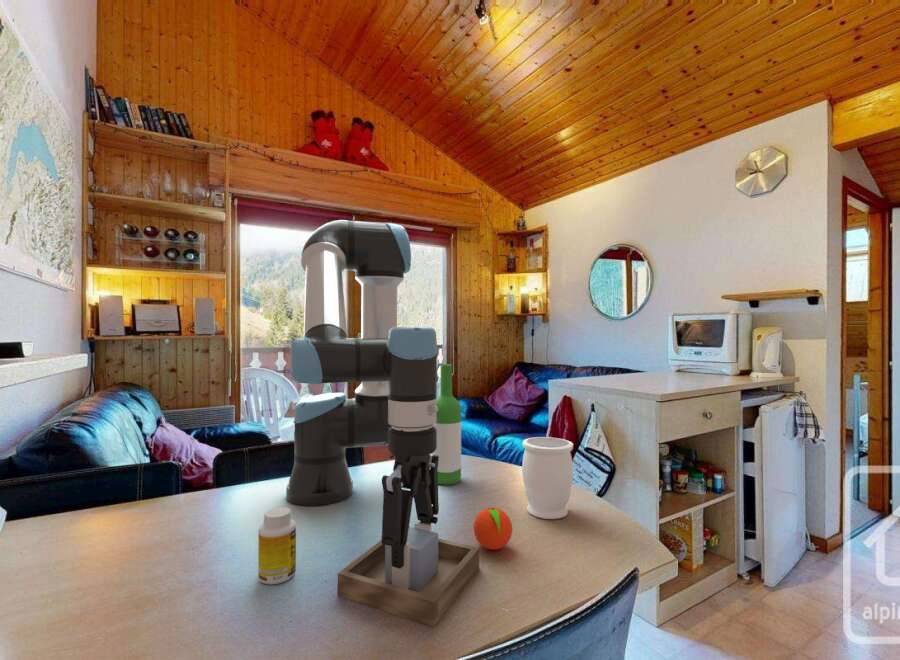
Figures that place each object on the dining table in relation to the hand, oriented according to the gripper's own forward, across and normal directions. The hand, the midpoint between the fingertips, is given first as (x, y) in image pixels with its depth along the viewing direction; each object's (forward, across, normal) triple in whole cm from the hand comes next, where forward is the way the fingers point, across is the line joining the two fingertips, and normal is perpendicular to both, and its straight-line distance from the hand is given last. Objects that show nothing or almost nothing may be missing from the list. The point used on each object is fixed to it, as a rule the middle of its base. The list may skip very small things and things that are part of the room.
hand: (412, 574), depth 69 cm
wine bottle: (+1, +43, +15) cm, 46 cm away
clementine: (+1, +15, -8) cm, 17 cm away
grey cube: (0, 0, 0) cm, 0 cm away
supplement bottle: (+1, -8, +20) cm, 22 cm away
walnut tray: (+1, 0, 0) cm, 1 cm away
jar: (+1, +35, -13) cm, 37 cm away
